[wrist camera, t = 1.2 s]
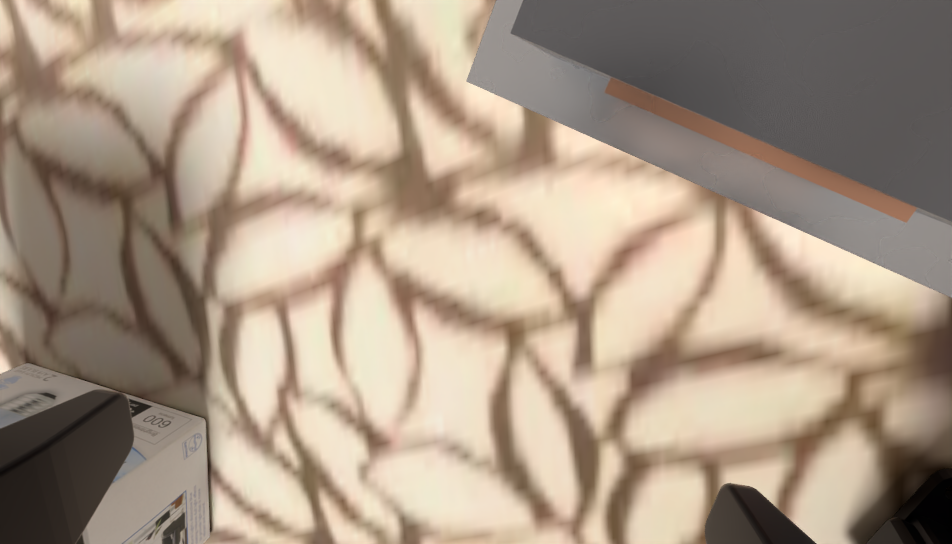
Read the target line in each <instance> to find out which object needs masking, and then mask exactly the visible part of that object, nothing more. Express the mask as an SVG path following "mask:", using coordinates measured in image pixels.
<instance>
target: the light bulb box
mask: <svg viewBox="0 0 952 544" xmlns="http://www.w3.org/2000/svg"><path fill="white" fill-rule="evenodd" d="M96 389H103V390H110V391H115V390H112V389H109V388H106V387H103V386H100V385H97V384H94V383H90V382H87V381H84V380H81V379H78V378H74V377H71V376H68V375H65V374H61V373H58V372H55V371H52V370H49V369H46V368H43V367H39V366H36V365H33V364H30V363H26V364H23V365H21V366H18V367H16V368H13V369H11V370H9V371H6V372H4V373H2V374H0V428H2V427H5V426H7V425H10V424H12V423H15V422H17V421H19V420H22V419H24V418H27V417H29V416H32V415H34V414H36V413H39V412H41V411H44V410H46V409H48V408H51V407H53V406H56V405H58V404H61V403H63V402H65V401H68V400H70V399H73V398H75V397H77V396H80V395H82V394H85V393H87V392H90V391H92V390H96ZM117 392H119V391H117ZM124 394H125V393H124ZM125 395H126V396H127V397H128V399H129V403H130V410H131V416H132V422H133V429H134V443H133V446H132V449H131V451H130V453H129V455H128V457H127V458H126V460H125V462H124V463H123V465H122V467H121V468H120V470H119V472H118V474H117V475H116V477H115V479H114V480H113V482H112V484H111V486H110V487H109V489H108V491H107V492H106V494H105V496H104V498H103V499H102V501H101V503H100V504H99V506H98V508H97V509H96V511H95V513H94V515H93V516H92V518H91V520H90V521H89V523H88V525H87V527H86V528H85V530H84V532H83V533H82V535H81V536H80V538H79V540H78V541H77V543H76V544H203V543H204V542H205V541H206V540H207V539H208V538H209V537H210V523H209V494H208V467H207V441H206V421H205V419H204V418H201V417H198V416H195V415H191V414H188V413H185V412H182V411H179V410H176V409H173V408H169V407H166V406H163V405H160V404H157V403H154V402H151V401H147V400H144V399H141V398H138V397H135V396H132V395H128V394H125Z"/></svg>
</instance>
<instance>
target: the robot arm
mask: <svg viewBox="0 0 952 544" xmlns="http://www.w3.org/2000/svg"><path fill="white" fill-rule="evenodd" d="M133 443H134V429H133V422H132V416H131V410H130V403H129V399H128V397H127V396H126V395H125V394H124V393H122V392H117V391H110V390H103V389H96V390H92V391H90V392H87V393H85V394H82V395H80V396H77V397H75V398H73V399H70V400H68V401H65V402H63V403H61V404H58V405H56V406H53V407H51V408H48V409H46V410H44V411H41V412H39V413H36V414H34V415H32V416H29V417H27V418H24V419H22V420H19V421H17V422H15V423H12V424H10V425H7V426H5V427H2V428H0V544H76V543H77V541H78V540H79V538H80V536H81V535H82V533H83V532H84V530H85V528H86V527H87V525H88V523H89V521H90V520H91V518H92V516H93V515H94V513H95V511H96V509H97V508H98V506H99V504H100V503H101V501H102V499H103V498H104V496H105V494H106V492H107V491H108V489H109V487H110V486H111V484H112V482H113V480H114V479H115V477H116V475H117V474H118V472H119V470H120V468H121V467H122V465H123V463H124V462H125V460H126V458H127V457H128V455H129V453H130V451H131V449H132V446H133ZM951 485H952V469H943V470H939V471H937V472H935V473H934V474H932V475H931V476H930V477H929V478H928V479H927V480H926V482H925V483H924V484H923V485H922V486H921V487H920V488H919V489H918V490H917V491H916V492H915V493H914V495H913V496H912V497H911V498H910V499H909V500H908V501H907V502H906V503H905V504H904V505H903V506H902V508H901V509H900V510H899V511H898V512H897V513H896V514H895V515H894V516H893V517H892V518H891V519H890V520H888V521H886V522H885V523H884V524H883V526H882V527H881V528H880V529H879V530H878V531H877V532H876V533H875V534H874V535H873V536H872V538H871V539H870V540H869V541H868V542H867V543H866V544H952V491H951V492H947V491H945V490H946V488H948V487H949V486H951ZM705 539H706V544H816V543H815V542H814V541H813V540H812V539H811V538H810V537H808V536H807V535H806V534H805V533H804V532H803V531H802V530H801V529H800V528H798V527H797V526H796V525H795V524H794V523H793V522H792V521H791V520H790V519H789V518H787V517H786V516H785V515H784V514H783V513H782V512H781V511H780V510H779V509H777V508H776V507H775V506H774V505H773V504H772V503H771V502H770V501H769V500H767V499H766V498H765V497H764V496H763V495H762V494H761V493H760V492H759V491H757V490H756V489H755V488H753V487H750V486H745V485H738V484H731V483H728V484H724V485H723V486H722V487H721V489H720V490H719V493H718V495H717V497H716V500H715V502H714V504H713V506H712V509H711V511H710V513H709V516H708V518H707V521H706V525H705Z"/></svg>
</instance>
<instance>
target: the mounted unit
mask: <svg viewBox="0 0 952 544" xmlns="http://www.w3.org/2000/svg"><path fill="white" fill-rule="evenodd" d="M467 82H469V83H471V84H473V85H476V86H478V87H480V88H482V89H485V90H487V91H489V92H491V93H494V94H496V95H498V96H500V97H503V98H505V99H507V100H509V101H512V102H514V103H516V104H518V105H521V106H523V107H525V108H527V109H530V110H532V111H534V112H536V113H539V114H541V115H543V116H545V117H547V118H550V119H552V120H554V121H556V122H559V123H561V124H563V125H565V126H568V127H570V128H572V129H574V130H577V131H579V132H581V133H583V134H586V135H588V136H590V137H592V138H595V139H597V140H599V141H601V142H604V143H606V144H608V145H610V146H613V147H615V148H617V149H619V150H622V151H624V152H626V153H628V154H630V155H633V156H635V157H637V158H639V159H642V160H644V161H646V162H648V163H651V164H653V165H655V166H657V167H660V168H662V169H664V170H666V171H669V172H671V173H673V174H675V175H678V176H680V177H682V178H684V179H687V180H689V181H691V182H693V183H696V184H698V185H700V186H702V187H705V188H707V189H709V190H711V191H713V192H716V193H718V194H720V195H722V196H725V197H727V198H729V199H731V200H734V201H736V202H738V203H740V204H743V205H745V206H747V207H749V208H752V209H754V210H756V211H758V212H761V213H763V214H765V215H767V216H770V217H772V218H774V219H776V220H779V221H781V222H783V223H785V224H788V225H790V226H792V227H794V228H796V229H799V230H801V231H803V232H805V233H808V234H810V235H812V236H814V237H817V238H819V239H821V240H823V241H826V242H828V243H830V244H832V245H835V246H837V247H839V248H841V249H844V250H846V251H848V252H850V253H853V254H855V255H857V256H859V257H862V258H864V259H866V260H868V261H871V262H873V263H875V264H877V265H879V266H882V267H884V268H886V269H888V270H891V271H893V272H895V273H897V274H900V275H902V276H904V277H906V278H909V279H911V280H913V281H915V282H918V283H920V284H922V285H924V286H927V287H929V288H931V289H933V290H936V291H938V292H940V293H942V294H945V295H947V296H949V297H951V298H952V0H496V2H495V5H494V8H493V11H492V13H491V16H490V19H489V21H488V24H487V27H486V30H485V32H484V35H483V38H482V40H481V43H480V46H479V48H478V51H477V54H476V57H475V59H474V62H473V65H472V67H471V70H470V73H469V75H468V78H467Z"/></svg>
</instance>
